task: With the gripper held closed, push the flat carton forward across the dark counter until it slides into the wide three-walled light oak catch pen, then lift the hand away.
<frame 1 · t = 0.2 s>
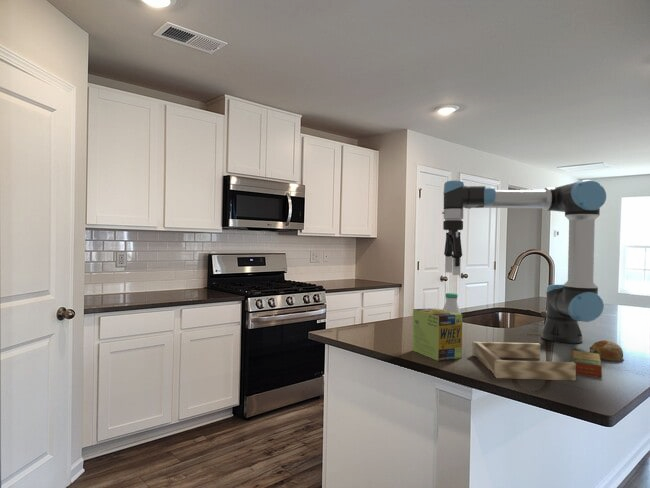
hand: (452, 273, 170), 28 cm above the countertop, tool pointing down, fingers open, 13 cm apart
milk bottle: (450, 344, 170), on the countertop
carton: (585, 370, 138), on the countertop
catch pen: (519, 366, 140), on the countertop
bread roll: (605, 358, 152), on the countertop
protein box: (436, 355, 154), on the countertop
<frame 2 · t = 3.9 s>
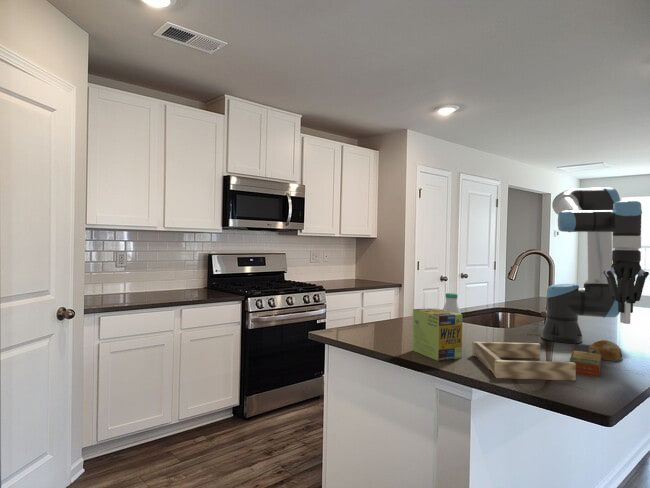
hand: (625, 322, 137), 15 cm above the countertop, tool pointing down, fingers closed
nothing on the countertop moved.
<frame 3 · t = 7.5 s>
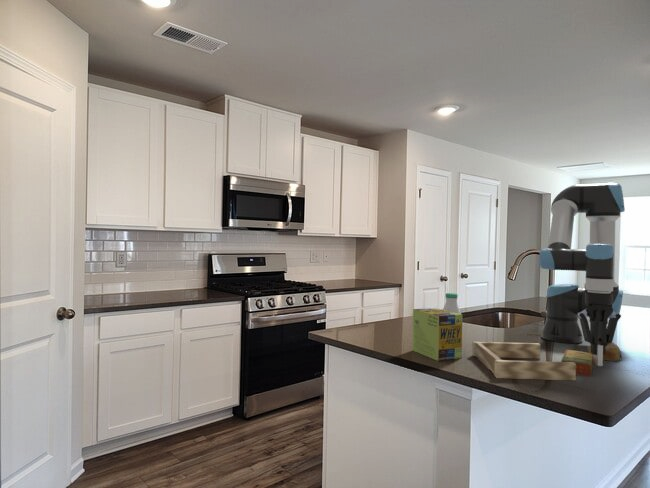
hand: (597, 364, 138), 1 cm above the countertop, tool pointing down, fingers closed
carton: (577, 369, 139), on the countertop, touching gripper
everything else where it was.
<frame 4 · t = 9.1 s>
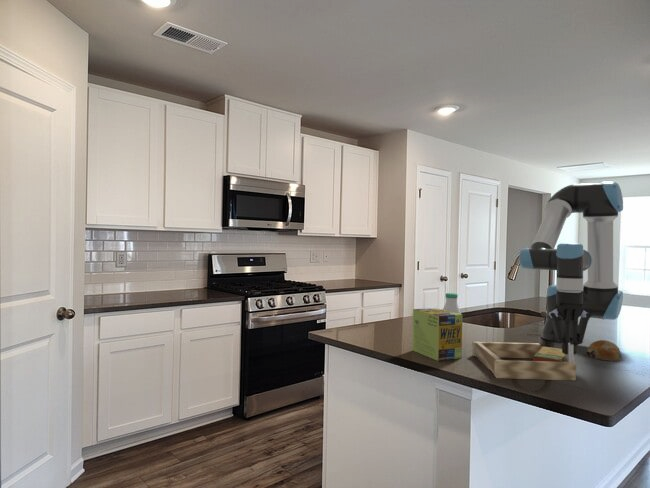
hand: (568, 363, 138), 1 cm above the countertop, tool pointing down, fingers closed
carton: (550, 365, 143), on the countertop, touching catch pen
everything else where it was.
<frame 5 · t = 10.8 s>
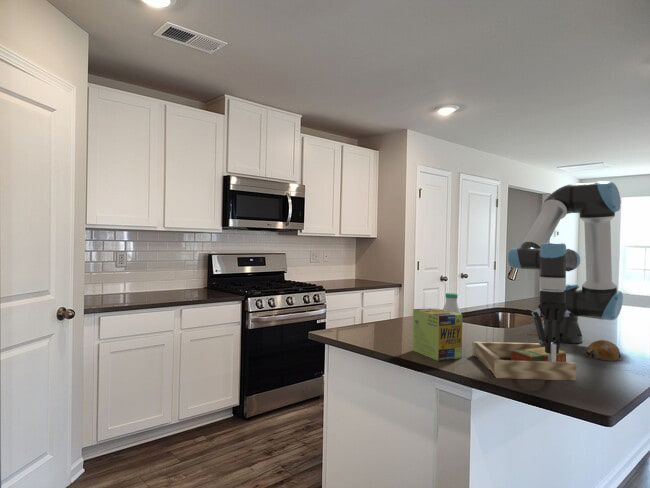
hand: (551, 363, 138), 2 cm above the countertop, tool pointing down, fingers closed
carton: (538, 363, 144), on the countertop, touching catch pen, gripper
everything else where it was.
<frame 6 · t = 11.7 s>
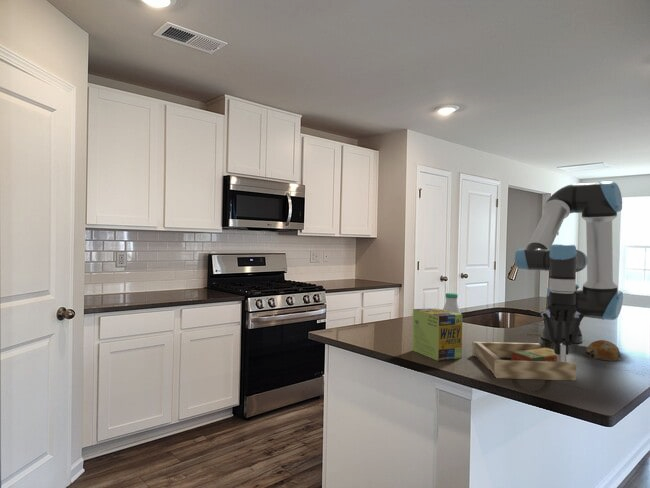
hand: (561, 364, 139), 1 cm above the countertop, tool pointing down, fingers closed
carton: (538, 365, 144), on the countertop
everything else where it was.
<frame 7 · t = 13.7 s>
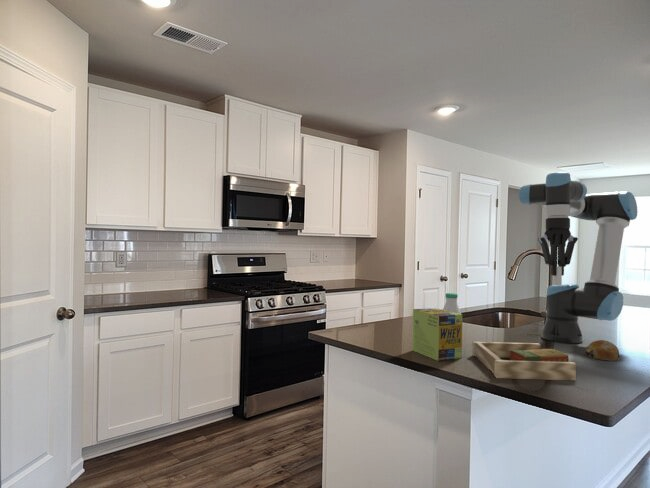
hand: (557, 284, 150), 26 cm above the countertop, tool pointing down, fingers closed
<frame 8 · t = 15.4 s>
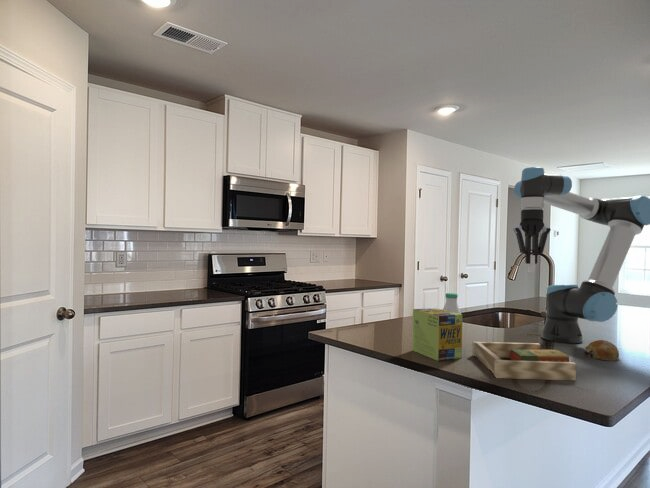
hand: (531, 272, 160), 29 cm above the countertop, tool pointing down, fingers closed
at the end: carton inside the target area on the catch pen (9.1 cm from its centre), point -0.6 cm above the catch pen's base; carton moved 13.6 cm from its start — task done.
